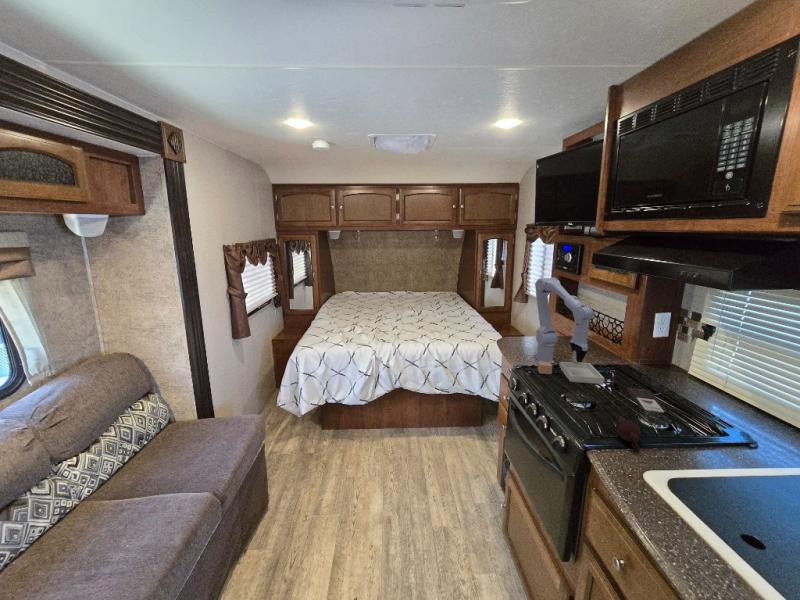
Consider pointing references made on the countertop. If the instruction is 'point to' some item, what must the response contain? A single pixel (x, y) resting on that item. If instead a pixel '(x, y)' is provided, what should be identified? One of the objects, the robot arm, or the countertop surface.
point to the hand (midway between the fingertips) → (577, 359)
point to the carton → (544, 367)
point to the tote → (581, 373)
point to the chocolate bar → (646, 400)
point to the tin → (575, 358)
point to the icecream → (628, 431)
